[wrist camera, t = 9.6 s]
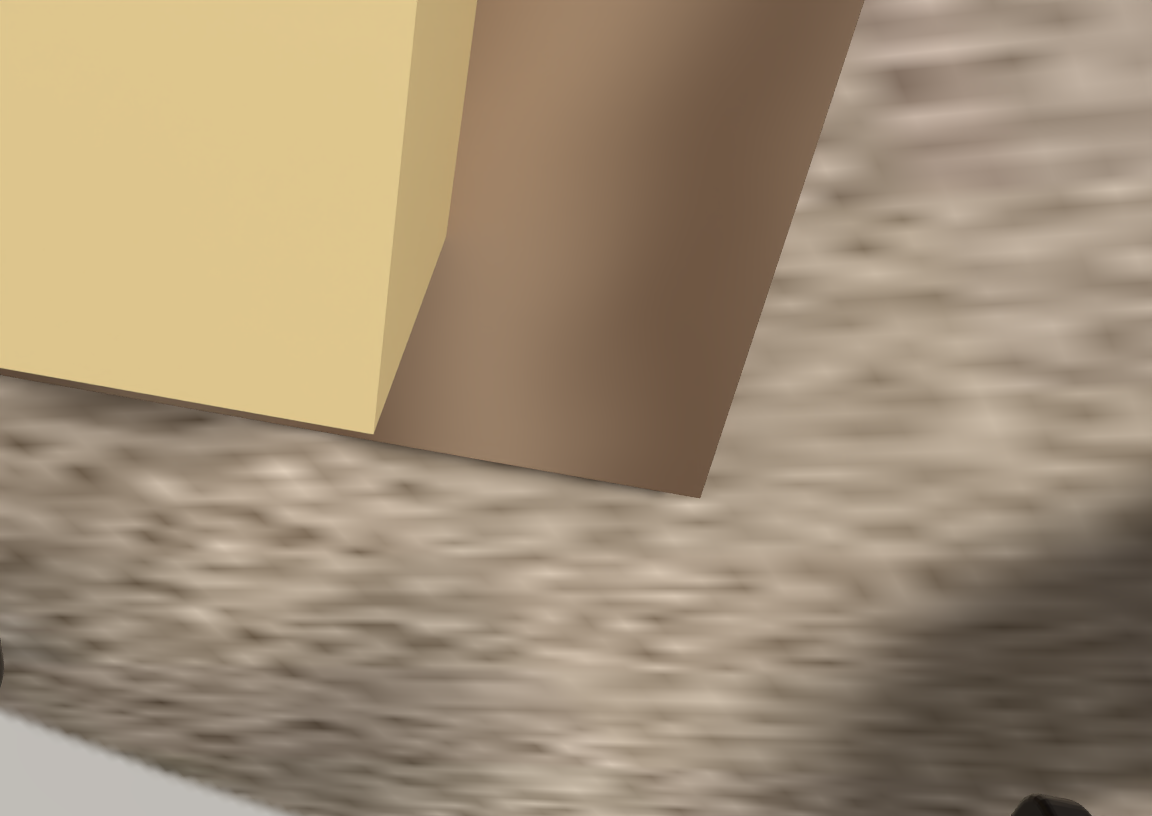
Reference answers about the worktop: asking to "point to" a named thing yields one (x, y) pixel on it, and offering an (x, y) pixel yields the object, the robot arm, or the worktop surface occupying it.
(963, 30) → the worktop surface
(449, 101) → the ochre carton
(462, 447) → the shelf board
